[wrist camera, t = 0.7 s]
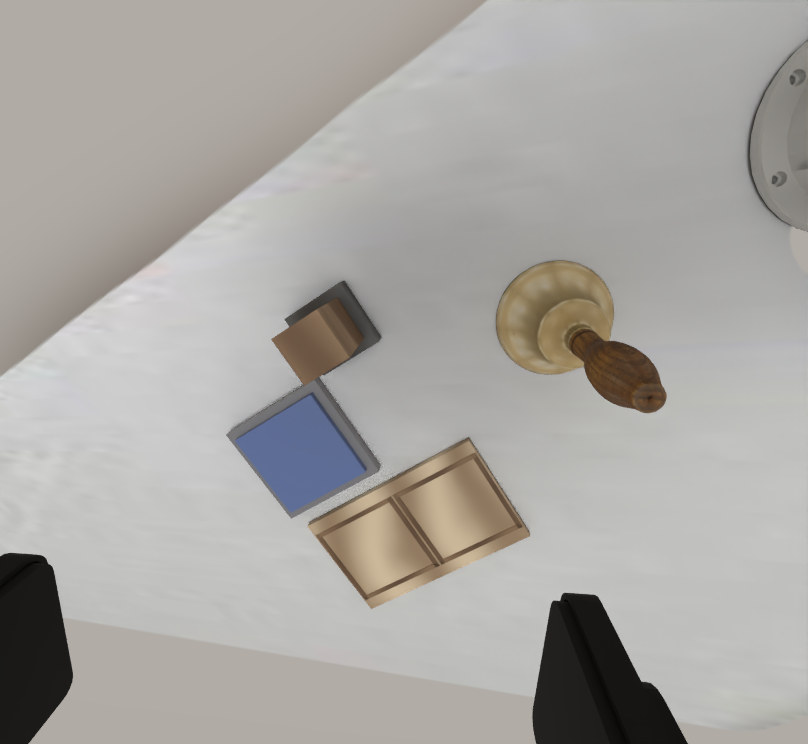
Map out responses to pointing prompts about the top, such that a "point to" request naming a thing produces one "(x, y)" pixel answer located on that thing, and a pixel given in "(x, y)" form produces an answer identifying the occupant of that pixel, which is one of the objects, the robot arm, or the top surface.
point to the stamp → (326, 333)
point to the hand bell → (574, 334)
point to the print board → (420, 525)
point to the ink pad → (304, 448)
